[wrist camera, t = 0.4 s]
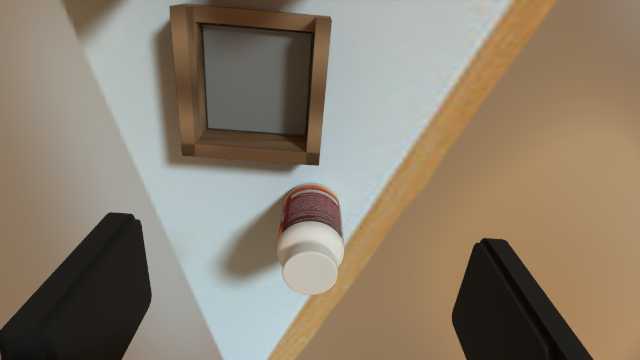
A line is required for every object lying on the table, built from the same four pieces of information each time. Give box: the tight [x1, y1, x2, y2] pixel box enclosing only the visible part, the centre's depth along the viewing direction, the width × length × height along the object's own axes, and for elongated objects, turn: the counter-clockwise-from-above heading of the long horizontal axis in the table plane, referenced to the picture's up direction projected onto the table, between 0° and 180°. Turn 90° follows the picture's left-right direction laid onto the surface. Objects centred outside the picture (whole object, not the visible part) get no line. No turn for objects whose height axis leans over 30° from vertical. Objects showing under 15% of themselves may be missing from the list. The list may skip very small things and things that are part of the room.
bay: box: [169, 4, 332, 166], centre depth 34 cm, size 12×12×4 cm
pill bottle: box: [277, 183, 344, 295], centre depth 37 cm, size 6×6×11 cm
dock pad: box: [203, 24, 312, 135], centre depth 36 cm, size 9×9×1 cm
